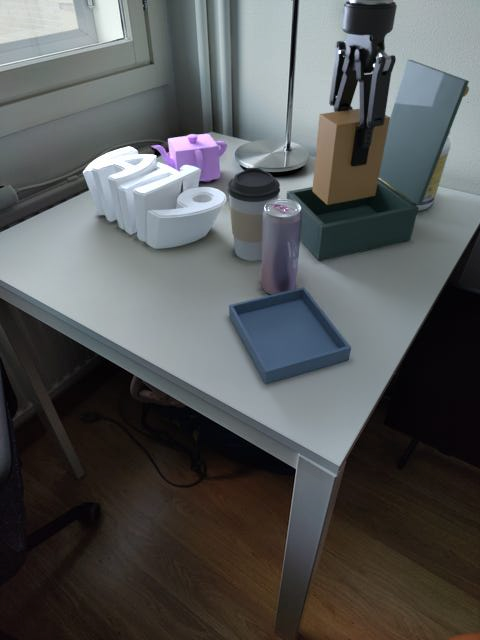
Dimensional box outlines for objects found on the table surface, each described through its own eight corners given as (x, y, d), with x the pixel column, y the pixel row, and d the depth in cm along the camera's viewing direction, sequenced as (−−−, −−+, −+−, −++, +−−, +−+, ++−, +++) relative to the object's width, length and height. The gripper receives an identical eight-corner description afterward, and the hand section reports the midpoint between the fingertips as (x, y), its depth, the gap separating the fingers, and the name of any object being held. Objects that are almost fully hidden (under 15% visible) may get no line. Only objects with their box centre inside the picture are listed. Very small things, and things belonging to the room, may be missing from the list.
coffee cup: (278, 264, 84) (282, 187, 75) (228, 264, 85) (226, 187, 75) (275, 238, 91) (279, 164, 81) (230, 238, 91) (227, 164, 81)
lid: (465, 80, 72) (494, 82, 74) (407, 59, 83) (434, 61, 85) (417, 205, 85) (443, 204, 87) (373, 173, 96) (397, 172, 98)
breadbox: (318, 261, 85) (322, 227, 81) (284, 222, 96) (286, 191, 91) (410, 240, 90) (418, 207, 86) (368, 206, 101) (374, 175, 96)
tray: (348, 359, 66) (351, 347, 65) (265, 384, 63) (265, 372, 61) (302, 298, 77) (304, 286, 75) (229, 316, 74) (228, 304, 72)
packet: (375, 195, 86) (390, 117, 76) (327, 205, 83) (336, 125, 74) (358, 182, 90) (370, 107, 81) (312, 191, 87) (319, 114, 78)
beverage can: (277, 272, 83) (281, 194, 73) (302, 286, 79) (310, 207, 69) (253, 286, 80) (254, 207, 70) (279, 302, 76) (284, 221, 66)
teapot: (161, 194, 106) (155, 151, 99) (150, 170, 116) (144, 129, 109) (235, 183, 110) (234, 140, 103) (219, 161, 120) (217, 120, 113)
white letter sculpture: (78, 201, 104) (66, 154, 97) (140, 179, 112) (133, 135, 105) (170, 266, 84) (163, 214, 77) (237, 233, 93) (236, 184, 86)
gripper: (317, -6, 73) (305, 142, 88) (385, 10, 59) (358, 182, 74) (359, -9, 75) (340, 137, 90) (434, 7, 61) (397, 175, 76)
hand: (348, 157), depth 82 cm, fingers closed on packet, 6 cm apart
